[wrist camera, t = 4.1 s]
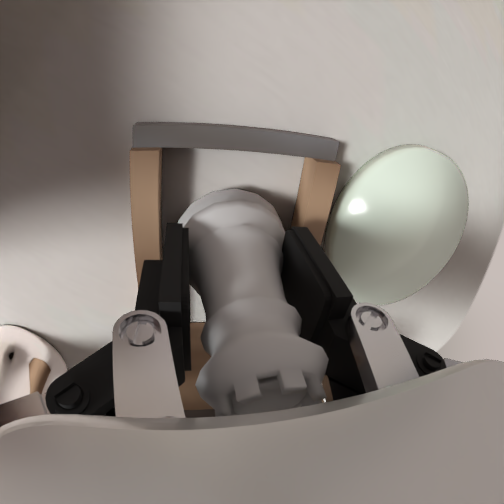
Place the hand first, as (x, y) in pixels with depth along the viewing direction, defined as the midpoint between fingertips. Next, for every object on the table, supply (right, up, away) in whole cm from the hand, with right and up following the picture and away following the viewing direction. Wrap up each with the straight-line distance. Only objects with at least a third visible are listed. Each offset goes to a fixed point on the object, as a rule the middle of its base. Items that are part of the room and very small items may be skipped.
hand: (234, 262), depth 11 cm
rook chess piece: (0, +1, +2) cm, 2 cm away
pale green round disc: (+8, +2, +3) cm, 9 cm away
